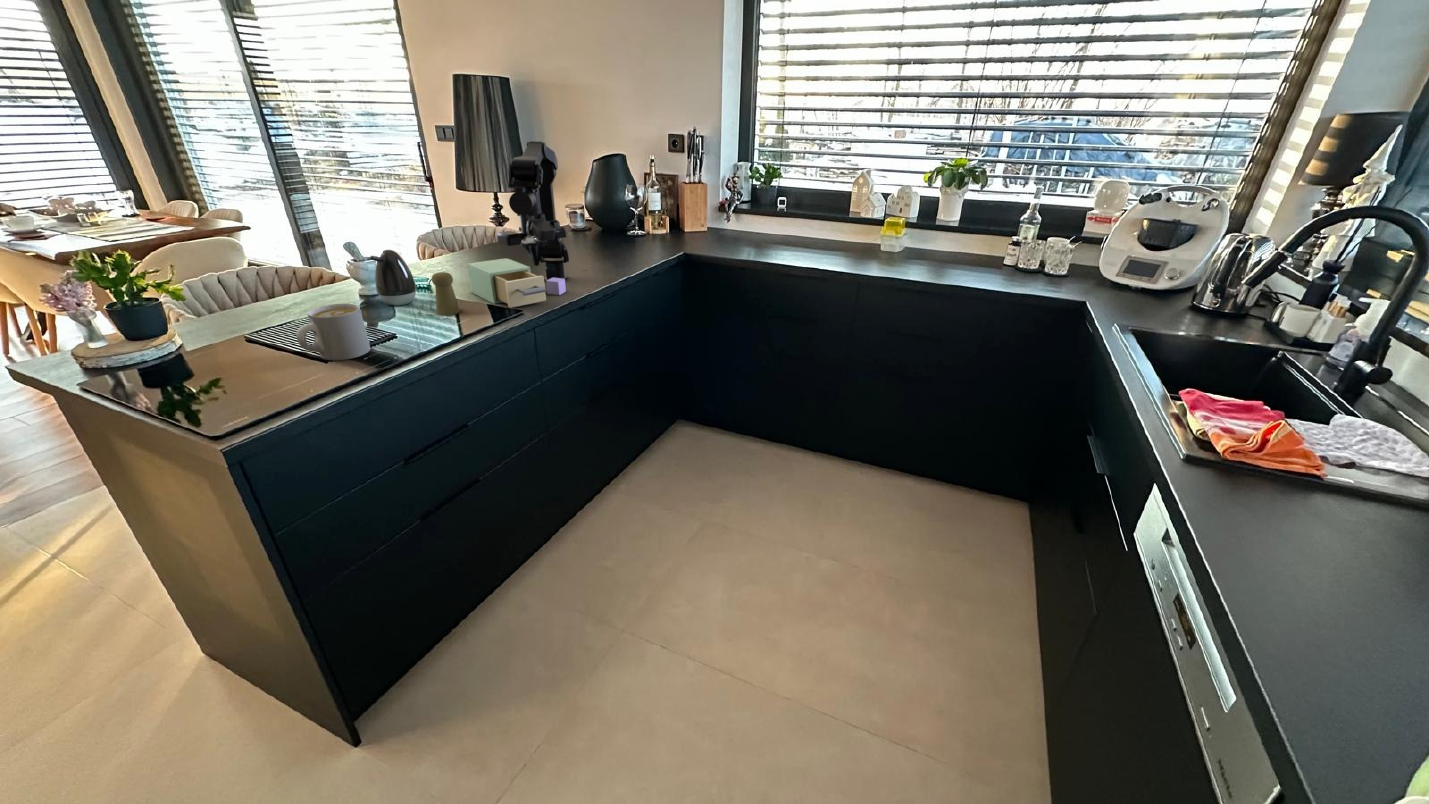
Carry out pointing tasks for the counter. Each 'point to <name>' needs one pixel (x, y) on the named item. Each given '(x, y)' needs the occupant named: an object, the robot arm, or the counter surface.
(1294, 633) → the counter surface
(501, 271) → the green drawer cabinet
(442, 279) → the pepper mill
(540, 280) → the drawer
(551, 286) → the soap block
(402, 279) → the pump dispenser
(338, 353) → the coffee mug
